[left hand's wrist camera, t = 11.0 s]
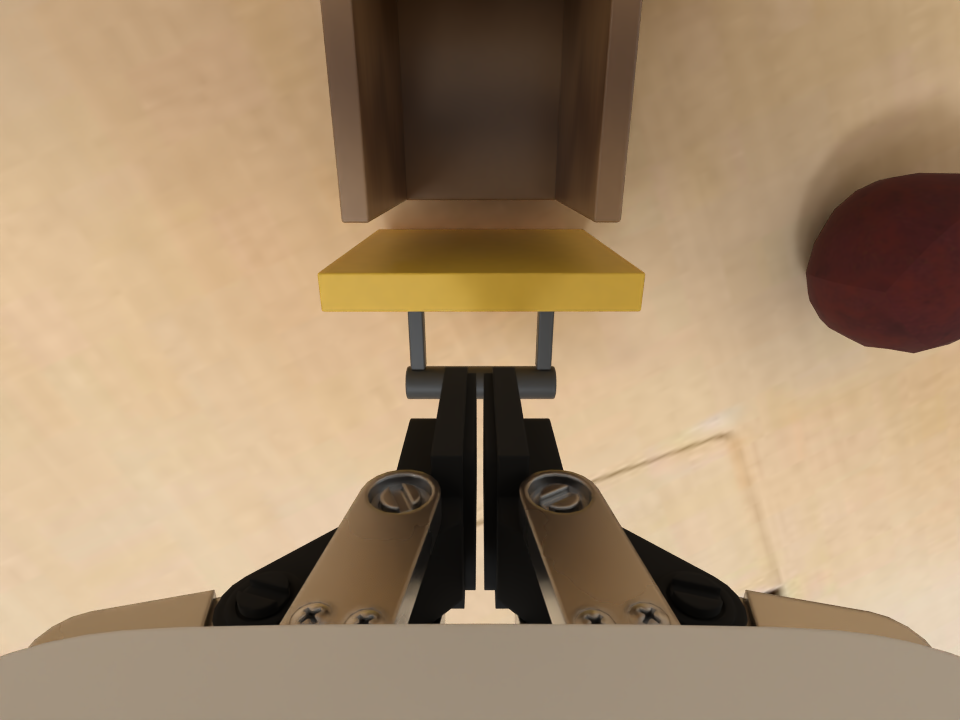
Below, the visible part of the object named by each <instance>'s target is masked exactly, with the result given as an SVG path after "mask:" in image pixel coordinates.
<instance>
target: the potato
mask: <svg viewBox="0 0 960 720" xmlns="http://www.w3.org/2000/svg"><path fill="white" fill-rule="evenodd" d="M806 277H807V287H808V295H809V299H810V302H811V304H812V305H813V307H814V309H815V311H816V312H817V314H818V316H819V318H820V319H821V320H822V321H823V322H824V323H825V324H826V325H827V326H828V327H829V328H831V329H832V330H834V331H836V332H838V333H840V334H842V335H844V336H846V337H847V338H849V339H851V340H853V341H855V342H857V343H859V344H861V345H863V346H867V347H876V348H885V349H892V350H898V351H904V352H910V353H916V352H920V351H924V350H928V349H932V348H936V347H940V346H944V345H948V344H950V343H953V342H955V341H957V340H959V339H960V174H952V173H916V174H910V175H904V176H898V177H893V178H888V179H883V180H879V181H877V182H874V183H872V184H870V185H868V186H866V187H863V188H861V189H859V190H857V191H855V192H854V193H853V194H852V195H851V196H850V197H848V198H847V199H846V200H845V201H844V202H843V203H842V204H840V205H839V206H838V207H837V208H836V209H835V210H834V211H833V213H832V214H831V216H830V217H829V219H828V221H827V222H826V224H825V226H824V227H823V229H822V231H821V233H820V234H819V236H818V238H817V239H816V241H815V243H814V246H813V250H812V253H811V257H810V260H809V264H808V267H807V271H806Z"/></svg>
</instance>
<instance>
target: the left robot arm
mask: <svg viewBox="0 0 960 720" xmlns="http://www.w3.org/2000/svg"><path fill="white" fill-rule="evenodd" d="M476 499H477V398H476V373H468V367H445V371H444V377H443V383H442V389H441V395H440V401H439V407H438V413H437V419H410V422H409V426H408V430H407V433H406V437H405V441H404V445H403V448H402V452H401V456H400V460H399V463H398V467H397V470H396V471H390V472H386V473H384V474H381V475H378V476H376V477H375V478H373V479H372V480H370V481H368V482H367V483H366V484H365V486H364V487H363V488H362V489H361V491H360V492H359V494H358V496H357V497H356V499H355V501H354V502H353V504H352V506H351V507H350V509H349V511H348V512H347V514H346V515H345V517H344V519H343V520H342V522H341V524H340V525H339V527H338V528H336V529H334V530H332V531H330V532H328V533H326V534H325V535H323V536H321V537H319V538H317V539H315V540H313V541H311V542H310V543H308V544H306V545H304V546H302V547H300V548H298V549H296V550H295V551H293V552H291V553H289V554H287V555H285V556H283V557H282V558H280V559H278V560H276V561H274V562H272V563H270V564H268V565H267V566H265V567H263V568H261V569H259V570H257V571H255V572H253V573H252V574H250V575H248V576H246V577H244V578H243V579H241V580H240V581H238V582H237V583H235V584H234V585H232V586H231V587H230V588H229V589H228V590H227V591H226V592H225V593H224V594H223V595H222V597H218V598H216V594H215V590H211V591H205V592H200V593H194V594H188V595H183V596H177V597H171V598H165V599H160V600H154V601H148V602H142V603H137V604H131V605H125V606H120V607H114V608H108V609H102V610H97V611H91V612H87V613H84V614H80V615H77V616H74V617H71V618H69V619H67V620H65V621H63V622H61V623H59V624H57V625H55V626H53V627H51V628H50V629H49V630H47V631H46V632H45V633H43V634H42V635H41V636H39V637H38V638H37V639H35V640H34V641H33V643H32V644H31V645H30V646H29V647H28V648H26V649H22V650H19V651H15V652H12V653H9V654H6V655H3V656H1V657H0V720H960V657H959V656H957V655H954V654H951V653H948V652H945V651H941V650H938V649H934V648H932V647H931V646H930V645H929V644H928V643H927V641H926V640H925V639H923V638H922V637H921V636H919V635H918V634H917V633H915V632H914V631H913V630H911V629H910V628H909V627H907V626H905V625H903V624H901V623H899V622H897V621H895V620H893V619H891V618H889V617H886V616H883V615H880V614H876V613H873V612H869V611H863V610H858V609H852V608H846V607H840V606H835V605H829V604H823V603H818V602H812V601H806V600H800V599H795V598H789V597H783V596H777V595H772V594H766V593H760V592H755V591H749V590H745V594H744V598H742V597H738V595H737V594H736V593H735V592H734V591H733V590H732V589H731V588H730V587H729V586H728V585H726V584H725V583H723V582H722V581H720V580H719V579H717V578H716V577H714V576H712V575H710V574H708V573H707V572H705V571H703V570H701V569H699V568H697V567H695V566H693V565H692V564H690V563H688V562H686V561H684V560H682V559H680V558H678V557H677V556H675V555H673V554H671V553H669V552H667V551H665V550H664V549H662V548H660V547H658V546H656V545H654V544H652V543H650V542H649V541H647V540H645V539H643V538H641V537H639V536H637V535H635V534H634V533H632V532H630V531H628V530H626V529H624V528H622V527H621V525H620V524H619V522H618V520H617V519H616V517H615V515H614V514H613V512H612V511H611V509H610V507H609V506H608V504H607V502H606V501H605V499H604V497H603V496H602V494H601V492H600V491H599V489H598V488H597V487H596V486H595V484H594V483H593V482H592V481H590V480H588V479H587V478H585V477H584V476H582V475H579V474H576V473H574V472H570V471H564V470H563V467H562V463H561V460H560V456H559V452H558V448H557V445H556V441H555V437H554V433H553V430H552V426H551V422H550V419H523V413H522V407H521V401H520V395H519V389H518V383H517V377H516V371H515V367H492V373H484V398H483V499H484V590H495V605H496V609H510V610H511V611H513V612H514V613H515V624H445V613H446V612H447V611H449V610H450V609H464V605H465V590H476Z"/></svg>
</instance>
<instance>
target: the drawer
mask: <svg viewBox="0 0 960 720" xmlns="http://www.w3.org/2000/svg"><path fill="white" fill-rule="evenodd" d="M320 2H321V12H322V22H323V32H324V43H325V53H326V63H327V73H328V84H329V94H330V104H331V114H332V125H333V135H334V145H335V155H336V166H337V176H338V186H339V196H340V207H341V217H342V222H344V223H367V222H370V221H371V220H373V219H375V218H376V217H378V216H380V215H381V214H383V213H385V212H387V211H388V210H390V209H392V208H393V207H395V206H397V205H398V204H400V203H402V202H404V201H405V200H557V201H559V202H561V203H562V204H564V205H566V206H568V207H569V208H571V209H573V210H575V211H576V212H578V213H580V214H582V215H584V216H585V217H587V218H589V219H591V220H592V221H594V222H619V221H620V220H621V211H622V201H623V191H624V181H625V171H626V161H627V150H628V140H629V130H630V120H631V110H632V100H633V89H634V79H635V69H636V59H637V49H638V39H639V28H640V18H641V8H642V0H320ZM644 279H645V273H644V272H642V271H641V270H640V269H638V268H637V267H635V266H634V265H632V264H631V263H630V262H628V261H627V260H625V259H624V258H623V257H621V256H620V255H618V254H617V253H615V252H614V251H613V250H611V249H610V248H608V247H607V246H606V245H604V244H603V243H601V242H600V241H598V240H597V239H596V238H594V237H593V236H591V235H590V234H588V233H587V232H586V231H584V230H583V229H379V230H377V231H376V232H375V233H373V234H372V235H370V236H369V237H368V238H366V239H365V240H364V241H362V242H361V243H359V244H358V245H357V246H355V247H354V248H352V249H351V250H350V251H348V252H347V253H346V254H344V255H343V256H341V257H340V258H339V259H337V260H336V261H334V262H333V263H332V264H330V265H329V266H327V267H326V268H325V269H323V270H322V271H321V272H319V273H318V282H319V290H320V299H321V307H322V311H324V312H408V324H409V342H410V361H411V366H409V367H408V368H407V371H406V395H407V398H408V399H440V395H441V389H442V383H443V377H444V371H445V367H468V373H476V398H477V399H483V398H484V373H492V367H515V371H516V377H517V383H518V389H519V395H520V399H554V398H555V395H556V371H555V368H554V367H553V366H551V360H552V342H553V324H554V311H640V310H641V304H642V296H643V288H644ZM461 311H538V315H537V339H536V362H535V364H536V366H426V341H425V318H424V312H461Z"/></svg>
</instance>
